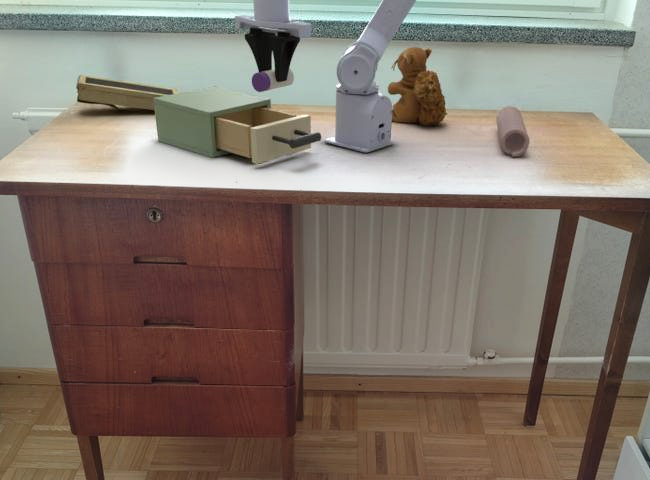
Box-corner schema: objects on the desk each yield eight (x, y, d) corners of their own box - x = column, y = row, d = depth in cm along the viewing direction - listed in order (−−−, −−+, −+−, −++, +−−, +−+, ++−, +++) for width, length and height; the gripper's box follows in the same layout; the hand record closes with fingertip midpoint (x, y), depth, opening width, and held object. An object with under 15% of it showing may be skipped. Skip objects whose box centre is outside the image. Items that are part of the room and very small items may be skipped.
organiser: (272, 141, 120) (270, 99, 116) (213, 157, 111) (209, 112, 107) (217, 126, 127) (214, 86, 124) (158, 140, 118) (152, 97, 115)
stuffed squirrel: (416, 110, 143) (421, 41, 136) (460, 126, 133) (468, 53, 126) (376, 116, 138) (380, 44, 131) (419, 132, 128) (426, 56, 121)
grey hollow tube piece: (532, 132, 114) (524, 107, 129) (505, 127, 114) (499, 103, 129) (525, 159, 116) (517, 132, 131) (498, 155, 117) (493, 128, 132)
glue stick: (281, 84, 120) (280, 65, 119) (294, 86, 119) (293, 67, 117) (252, 90, 115) (250, 71, 114) (265, 93, 114) (264, 74, 112)
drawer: (334, 154, 112) (334, 121, 109) (281, 171, 104) (280, 135, 101) (255, 133, 121) (254, 102, 118) (201, 147, 113) (198, 114, 110)
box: (77, 100, 135) (77, 73, 133) (193, 115, 143) (195, 90, 141) (76, 110, 129) (76, 83, 126) (197, 126, 137) (199, 100, 134)
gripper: (322, -9, 108) (322, 82, 116) (253, -16, 115) (256, 70, 123) (294, -7, 103) (296, 88, 111) (224, -14, 110) (229, 76, 118)
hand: (273, 79), depth 116 cm, fingers closed on glue stick, 3 cm apart
